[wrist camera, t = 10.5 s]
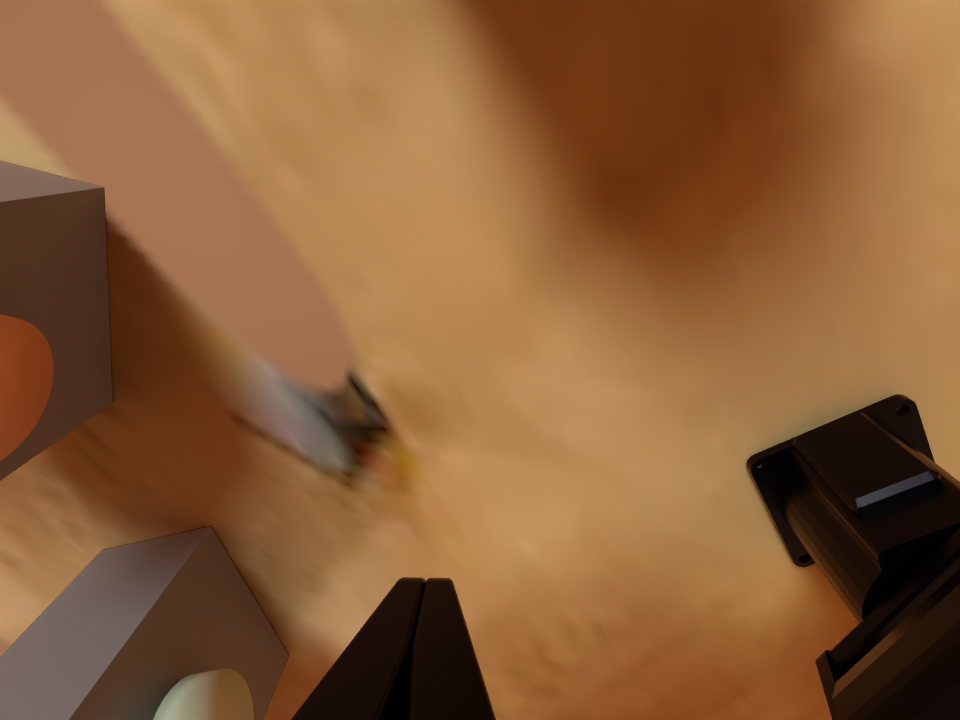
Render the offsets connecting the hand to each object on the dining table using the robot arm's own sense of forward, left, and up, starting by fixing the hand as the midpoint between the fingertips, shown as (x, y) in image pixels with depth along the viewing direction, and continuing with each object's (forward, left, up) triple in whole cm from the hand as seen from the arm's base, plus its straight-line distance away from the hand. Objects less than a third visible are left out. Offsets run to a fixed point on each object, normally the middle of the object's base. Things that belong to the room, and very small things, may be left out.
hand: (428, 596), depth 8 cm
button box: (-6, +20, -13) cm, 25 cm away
